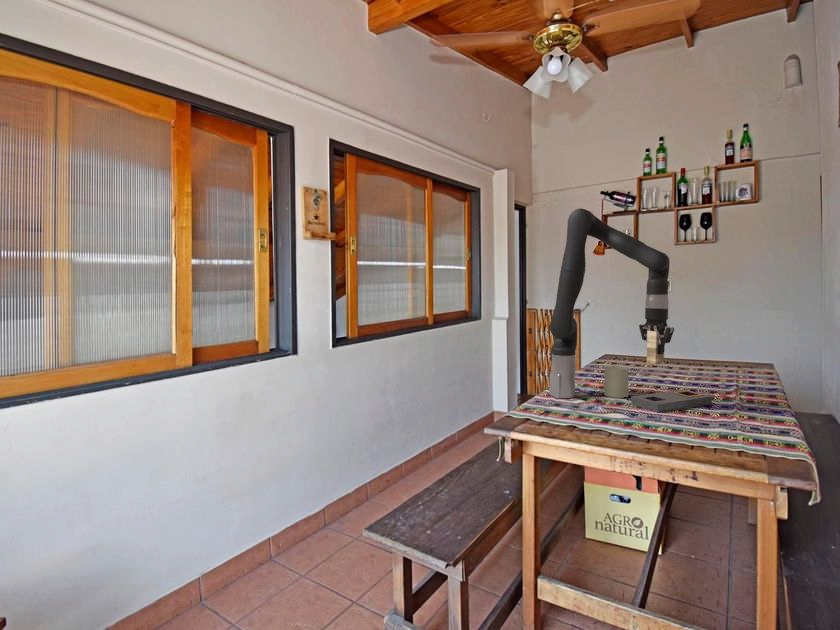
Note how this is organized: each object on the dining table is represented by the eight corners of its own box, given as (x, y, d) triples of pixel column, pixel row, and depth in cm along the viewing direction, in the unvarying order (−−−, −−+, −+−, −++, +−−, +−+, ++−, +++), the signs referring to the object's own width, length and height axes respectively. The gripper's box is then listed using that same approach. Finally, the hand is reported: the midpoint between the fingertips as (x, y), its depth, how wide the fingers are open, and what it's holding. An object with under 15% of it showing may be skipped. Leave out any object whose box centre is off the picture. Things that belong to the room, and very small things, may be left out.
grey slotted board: (657, 412, 164) (657, 403, 163) (631, 404, 175) (631, 396, 175) (711, 404, 173) (712, 395, 173) (683, 396, 184) (683, 388, 184)
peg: (655, 364, 167) (656, 331, 166) (646, 362, 171) (647, 330, 170) (663, 363, 169) (664, 331, 168) (654, 361, 172) (655, 330, 171)
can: (623, 392, 193) (624, 364, 192) (631, 398, 184) (632, 368, 183) (601, 392, 194) (601, 364, 193) (607, 397, 185) (608, 368, 184)
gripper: (633, 306, 173) (632, 351, 175) (665, 308, 160) (664, 357, 162) (648, 305, 176) (647, 349, 177) (681, 307, 163) (679, 355, 164)
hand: (655, 353), depth 169 cm, fingers closed on peg, 4 cm apart
